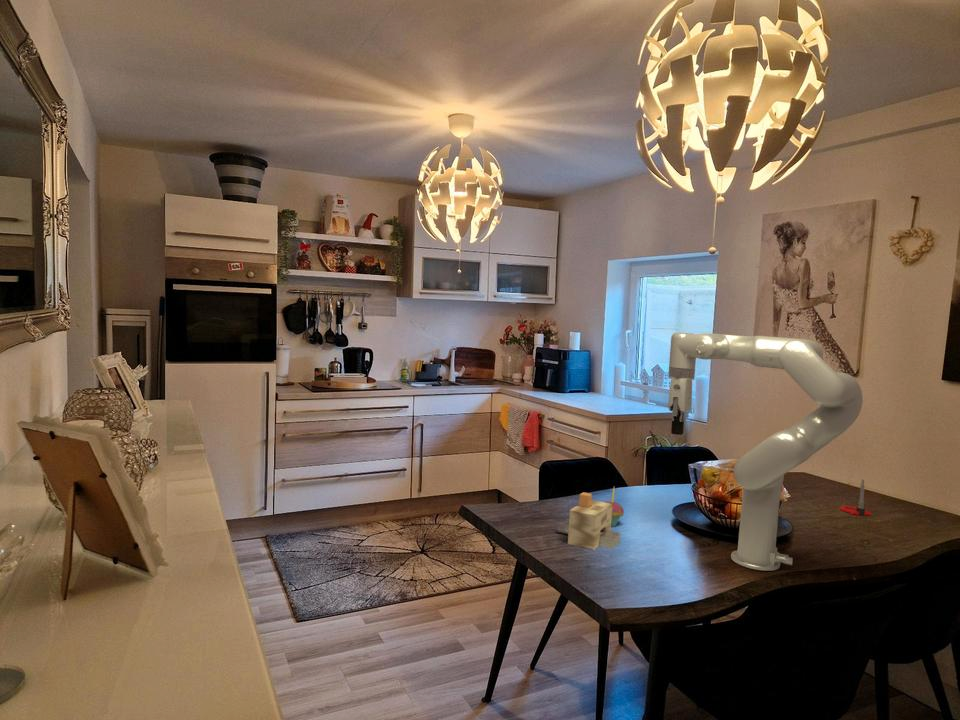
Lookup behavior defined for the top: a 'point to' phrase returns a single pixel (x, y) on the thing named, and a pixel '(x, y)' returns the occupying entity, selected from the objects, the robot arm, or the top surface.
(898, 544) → the top surface
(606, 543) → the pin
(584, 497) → the plunger
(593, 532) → the block
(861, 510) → the grey spike red base
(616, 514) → the cupcake
